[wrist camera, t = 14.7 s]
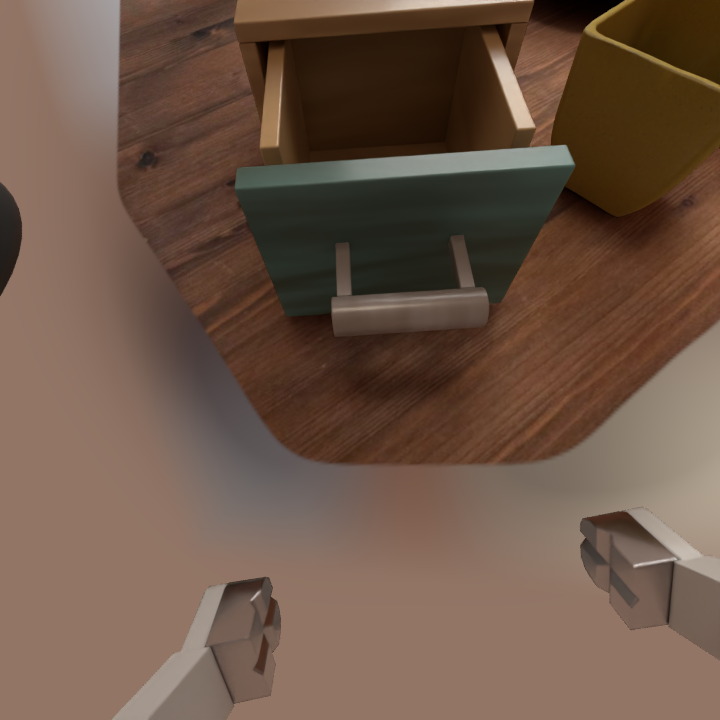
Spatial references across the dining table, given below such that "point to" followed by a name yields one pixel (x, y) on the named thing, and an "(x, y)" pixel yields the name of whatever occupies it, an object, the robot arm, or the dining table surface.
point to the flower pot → (641, 101)
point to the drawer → (397, 178)
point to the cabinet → (365, 24)
